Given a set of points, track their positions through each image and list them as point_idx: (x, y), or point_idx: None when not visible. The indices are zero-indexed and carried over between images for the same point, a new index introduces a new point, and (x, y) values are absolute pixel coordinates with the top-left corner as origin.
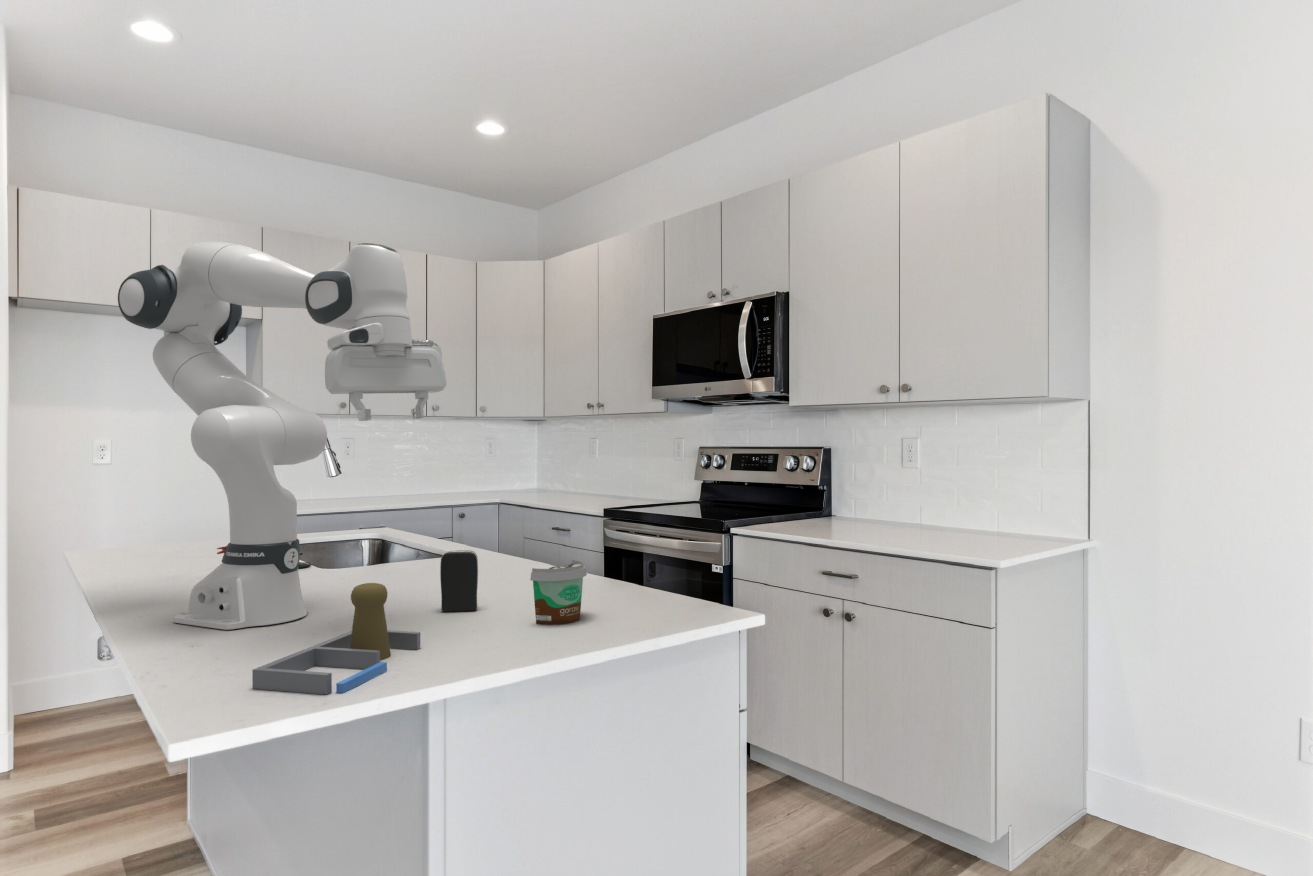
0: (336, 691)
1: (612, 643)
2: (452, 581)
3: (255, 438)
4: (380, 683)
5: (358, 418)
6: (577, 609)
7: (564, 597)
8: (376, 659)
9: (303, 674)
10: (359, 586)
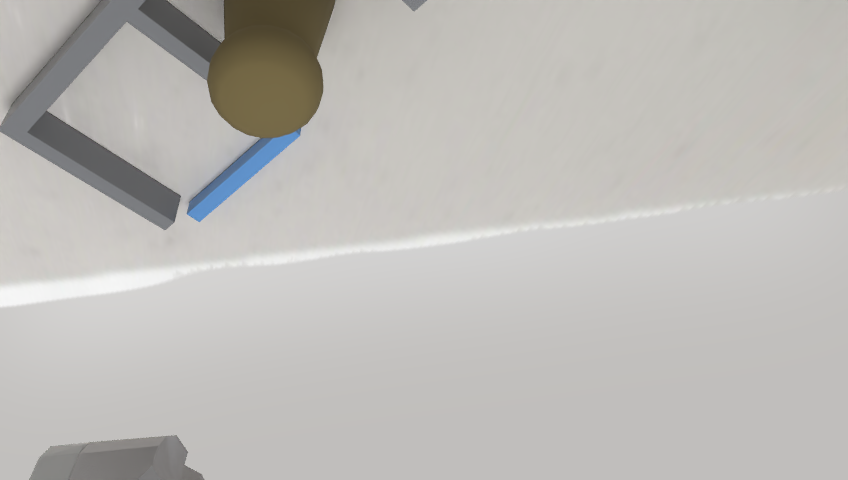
0: (189, 203)
1: (812, 171)
2: None
3: None
4: (275, 189)
5: (41, 467)
6: None
7: None
8: None
9: (118, 201)
10: (230, 109)
